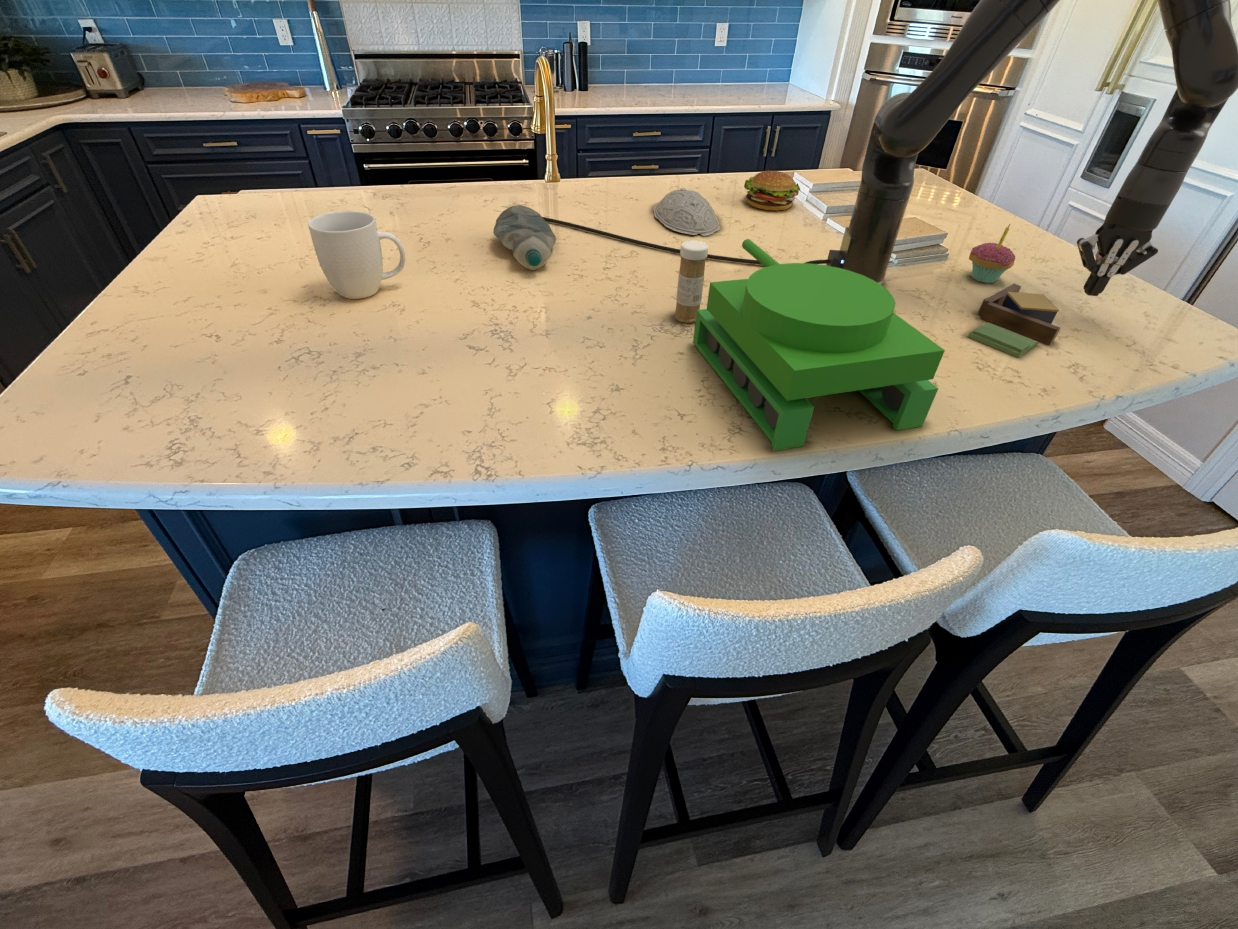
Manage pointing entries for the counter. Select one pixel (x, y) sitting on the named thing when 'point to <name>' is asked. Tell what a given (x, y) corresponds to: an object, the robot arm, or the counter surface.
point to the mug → (352, 252)
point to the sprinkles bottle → (690, 280)
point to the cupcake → (991, 260)
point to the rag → (1002, 339)
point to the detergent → (525, 235)
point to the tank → (813, 346)
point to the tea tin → (1031, 305)
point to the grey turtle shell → (687, 213)
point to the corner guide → (1016, 318)
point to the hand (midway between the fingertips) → (1090, 293)
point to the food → (771, 190)
